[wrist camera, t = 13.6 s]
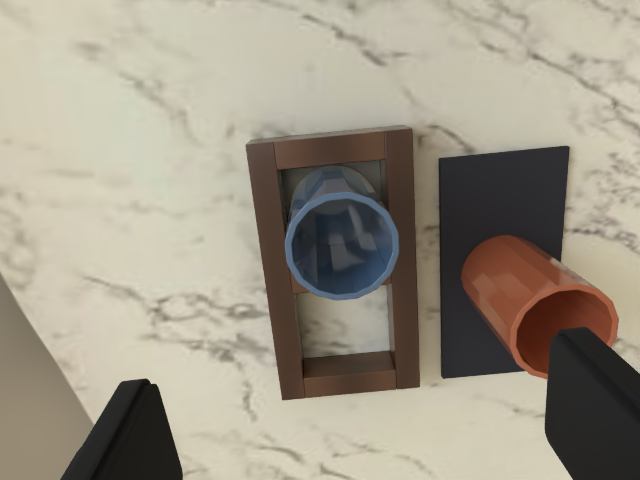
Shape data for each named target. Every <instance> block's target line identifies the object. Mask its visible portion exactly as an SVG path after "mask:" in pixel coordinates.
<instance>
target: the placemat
mask: <svg viewBox="0 0 640 480" xmlns="http://www.w3.org/2000/svg"><path fill="white" fill-rule="evenodd" d="M569 148H570V147H569V146H560V147H550V148H539V149H529V150H519V151H509V152H499V153H488V154H478V155H468V156H458V157H448V158H439V211H440V294H441V376H442V378H443V379H445V378H456V377H467V376H477V375H488V374H499V373H509V372H520V371H526V370H524V369H523V368H522V367H521V366H519V365H518V364H517V363H516V361H515V360H514V359H513V357H512V356H511V355H510V353H509V352H508V351H507V349H506V348H505V347H504V345H503V344H502V343H501V341H500V340H499V339H498V338H497V336H496V335H495V334H494V332H493V331H492V330H491V328H490V327H489V326H488V324H487V323H486V322H485V320H484V319H483V318H482V316H481V315H480V314H479V312H478V311H477V310H476V308H475V307H474V306H473V304H472V303H471V302H470V300H469V298H468V296H467V295H466V293H465V292H464V289H463V286H462V281H461V274H462V268H463V265H464V262H465V260H466V258H467V257H468V255H469V254H470V253H471V251H472V250H473V249H474V248H475V247H476V246H478V245H479V244H480V243H482V242H483V241H485V240H487V239H490V238H492V237H495V236H500V235H514V236H519V237H521V238H524V239H526V240H528V241H530V242H532V243H533V244H534V245H536V246H537V247H539V248H540V249H542V250H543V251H544V252H546V253H547V254H549V255H550V256H552V257H553V258H554V259H556V260H557V261H559V262H560V263H561V251H562V238H563V226H564V213H565V200H566V187H567V174H568V161H569Z"/></svg>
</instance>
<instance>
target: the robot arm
mask: <svg viewBox="0 0 640 480" xmlns="http://www.w3.org/2000/svg"><path fill="white" fill-rule="evenodd" d="M545 433H546V437H547V439H548V442H549V444H550V445H551V447H552V448H553V450H554V451H555V453H556V454H557V456H558V457H559V459H560V460H561V462H562V463H563V465H564V467H565V468H566V470H567V471H568V473H569V474H570V476H571V477H572V479H573V480H640V374H639V373H638V372H637V371H636V370H635V369H634V368H632V367H631V366H630V365H629V364H628V363H627V362H626V361H625V360H624V359H622V358H621V357H620V356H619V355H618V354H617V353H616V352H615V351H613V350H612V349H611V348H610V347H609V346H608V345H607V344H606V343H605V342H603V341H602V340H601V339H600V338H599V337H598V336H597V335H596V334H595V333H593V332H592V331H591V330H590V329H589V328H587V327H576V328H567V329H560V330H559V331H558V332H557V335H556V336H553V337H552V338H551V339H550V348H549V365H548V381H547V397H546V413H545ZM60 480H183V473H182V468H181V464H180V461H179V457H178V454H177V450H176V447H175V443H174V440H173V436H172V433H171V429H170V426H169V423H168V419H167V416H166V412H165V409H164V405H163V402H162V398H161V395H160V391H159V388H158V386H157V385H156V384H151V383H150V381H149V380H148V379H138V380H130V381H123V382H121V383H120V384H119V386H118V387H117V389H116V391H115V392H114V394H113V396H112V397H111V399H110V401H109V402H108V404H107V406H106V407H105V409H104V411H103V412H102V414H101V416H100V417H99V419H98V421H97V422H96V424H95V426H94V427H93V429H92V431H91V433H90V434H89V436H88V437H87V439H86V441H85V442H84V444H83V446H82V447H81V448H80V449H79V450H78V452H77V453H76V455H75V456H74V458H73V460H72V461H71V463H70V465H69V466H68V468H67V469H66V471H65V473H64V474H63V476H62V478H61V479H60Z"/></svg>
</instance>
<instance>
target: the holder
mask: <svg viewBox="0 0 640 480" xmlns="http://www.w3.org/2000/svg"><path fill="white" fill-rule="evenodd" d="M246 152H247V159H248V166H249V173H250V180H251V187H252V194H253V201H254V208H255V215H256V221H257V228H258V235H259V242H260V249H261V256H262V263H263V270H264V277H265V284H266V291H267V298H268V305H269V312H270V319H271V326H272V333H273V340H274V346H275V353H276V360H277V367H278V374H279V381H280V388H281V395H282V400H291V399H302V398H305V397H306V398H311V397H321V396H332V395H342V394H353V393H364V392H374V391H385V390H396V388H397V389H407V388H417V387H420V369H419V335H418V301H417V267H416V234H415V200H414V166H413V133H412V128H410V127H407V126H405V125H399V126H389V127H379V128H368V129H358V130H348V131H338V132H328V133H318V134H307V135H297V136H287V137H277V138H267V139H257V140H250V141H249V142H248V143H247V144H246ZM373 160H380V170H381V189H382V203H383V205H384V206H385V208H386V209H387V211H388V212H389V214H390V216H391V218H392V220H393V222H394V224H395V226H396V228H397V230H398V235H399V255H398V258H397V261H396V263H395V266H394V268H393V271H392V273H391V274H390V276H389V277H388V278H387V279H386V280H385V281H384V282H383V283H382V284H381V285H387V303H388V322H389V341H390V351H382V352H371V353H361V354H350V355H340V356H329V357H318V358H308V359H303V351H302V343H301V334H300V326H299V318H298V310H297V302H296V294H295V293H305V292H310V291H309V290H308V289H306V288H305V287H304V286H302V285H301V284H300V283H298V282H297V280H296V278H295V277H294V275H293V273H292V272H291V270H290V268H289V266H288V265H287V259H286V251H285V237H286V231H287V220H286V212H285V204H284V195H283V187H282V179H281V171H280V170H282V169H292V168H302V167H312V166H322V165H333V164H343V163H353V162H363V161H373Z"/></svg>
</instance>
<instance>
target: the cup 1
mask: <svg viewBox="0 0 640 480" xmlns="http://www.w3.org/2000/svg"><path fill="white" fill-rule="evenodd" d="M285 251H286V259H287V265H288V266H289V268H290V270H291V272H292V273H293V275H294V277H295V278H296V280H297V282H298V283H300V284H301V285H302V286H304V287H305V288H306V289H308V290H309V291H310V292H312V293H313V294H314V295H317V296H321V297H325V298H328V299H332V300H347V299H357V298H359V297H361V296H363V295H366V294H368V293H370V292H372V291H374V290H376V289H377V288H378V287H379V286H380V285H381V284H382V283H383V282H384V281H385V280H386V279H387V278H388V277H389V276H390V274H391V273H392V271H393V268H394V266H395V263H396V261H397V258H398V255H399V235H398V230H397V228H396V226H395V224H394V222H393V220H392V218H391V216H390V214H389V212H388V211H387V209H386V208H385V206H384V205H383V203H382V201H381V200H380V198H379V197H378V195H377V194H376V192H375V190H374V189H373V187H372V186H371V184H370V183H369V181H368V180H366V178H364V177H363V176H362V175H361V174H360V173H359V172H357V171H355V170H353V169H351V168H349V167H345V166H341V165H328V166H323V167H320V168H317V169H315V170H313V171H312V172H310V173H309V174H307V175H306V176H305V177H304V178H303V179H302V180H301V181H300V183H299V184H298V185H297V187H296V189H295V191H294V194H293V198H292V202H291V205H290V212H289V218H288V224H287V231H286V237H285Z"/></svg>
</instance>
